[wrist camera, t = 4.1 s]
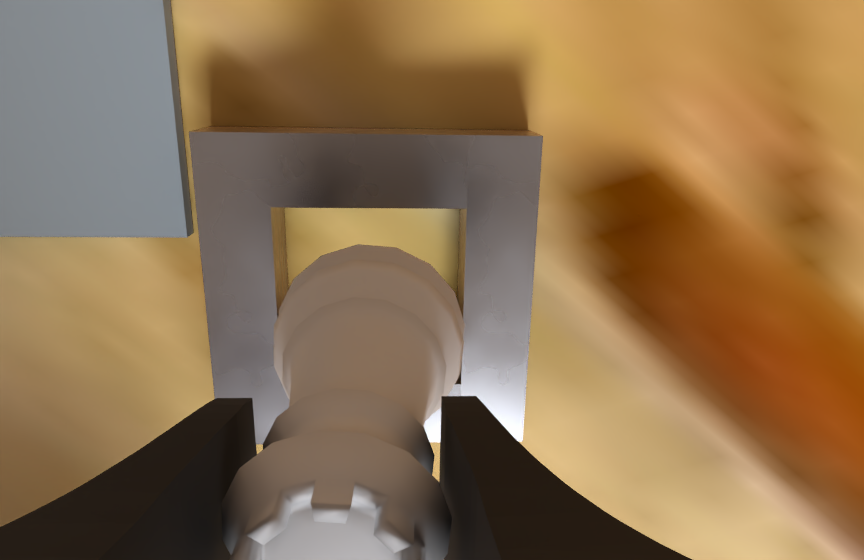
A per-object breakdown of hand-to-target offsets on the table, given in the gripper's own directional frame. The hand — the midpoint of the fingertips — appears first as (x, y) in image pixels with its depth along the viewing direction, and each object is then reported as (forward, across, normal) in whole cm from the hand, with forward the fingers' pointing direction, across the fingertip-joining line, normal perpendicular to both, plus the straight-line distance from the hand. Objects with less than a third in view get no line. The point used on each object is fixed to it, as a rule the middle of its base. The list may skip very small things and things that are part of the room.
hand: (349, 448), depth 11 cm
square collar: (+10, 0, 0) cm, 10 cm away
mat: (+10, +10, -6) cm, 15 cm away
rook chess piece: (+5, 0, 0) cm, 5 cm away
